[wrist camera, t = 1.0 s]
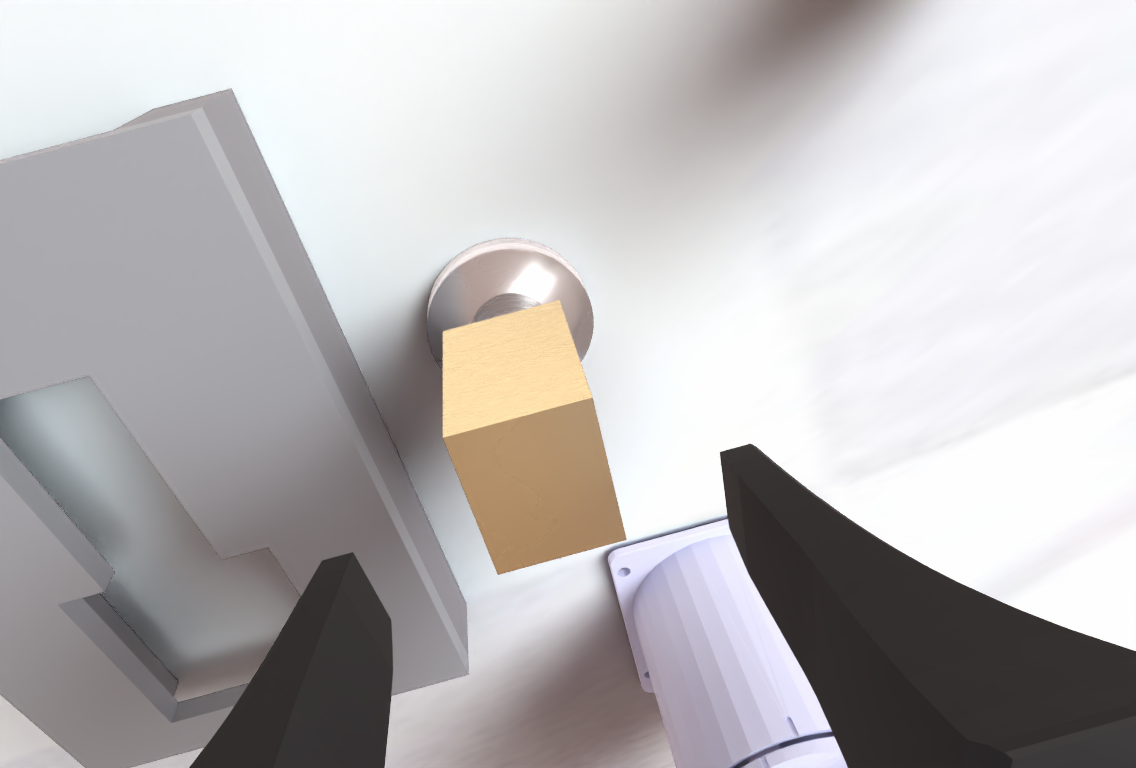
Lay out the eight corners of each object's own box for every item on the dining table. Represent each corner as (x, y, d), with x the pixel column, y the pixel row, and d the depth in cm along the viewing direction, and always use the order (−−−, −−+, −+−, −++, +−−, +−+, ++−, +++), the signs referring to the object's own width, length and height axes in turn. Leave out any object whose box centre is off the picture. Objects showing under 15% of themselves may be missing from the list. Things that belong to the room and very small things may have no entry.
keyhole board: (466, 603, 28) (468, 674, 25) (130, 695, 28) (95, 777, 25) (231, 88, 17) (191, 114, 14) (-322, 233, 17) (-471, 288, 14)
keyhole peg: (601, 360, 23) (672, 542, 16) (455, 399, 23) (461, 600, 16) (569, 219, 20) (637, 362, 13) (404, 263, 20) (383, 431, 13)
